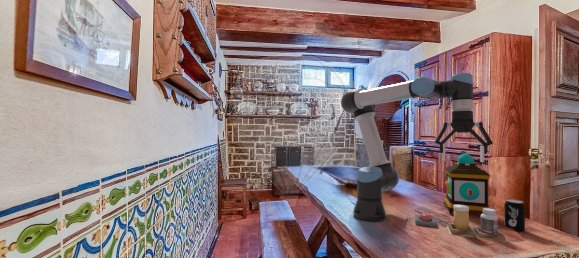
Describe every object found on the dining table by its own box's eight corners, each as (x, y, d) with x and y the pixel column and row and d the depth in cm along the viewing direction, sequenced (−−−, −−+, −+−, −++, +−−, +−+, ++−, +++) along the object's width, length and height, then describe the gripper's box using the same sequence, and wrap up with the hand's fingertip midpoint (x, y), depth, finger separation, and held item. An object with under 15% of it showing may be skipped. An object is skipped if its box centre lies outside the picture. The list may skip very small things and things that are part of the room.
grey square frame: (415, 227, 114) (415, 220, 114) (415, 221, 121) (415, 215, 121) (436, 230, 110) (436, 223, 111) (435, 224, 118) (435, 217, 118)
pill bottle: (497, 238, 98) (497, 212, 99) (479, 235, 102) (479, 209, 102) (498, 234, 103) (498, 209, 103) (481, 231, 106) (481, 206, 106)
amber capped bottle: (454, 232, 105) (454, 207, 105) (452, 228, 110) (452, 203, 110) (470, 234, 103) (470, 208, 103) (467, 230, 107) (467, 205, 108)
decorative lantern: (446, 215, 130) (446, 154, 131) (440, 205, 149) (440, 151, 149) (496, 220, 123) (496, 155, 123) (483, 209, 141) (483, 152, 142)
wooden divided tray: (449, 237, 103) (449, 230, 103) (446, 228, 112) (446, 222, 113) (507, 245, 96) (507, 237, 96) (499, 235, 105) (499, 228, 105)
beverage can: (528, 232, 108) (528, 203, 108) (510, 231, 109) (510, 202, 109) (518, 227, 114) (518, 199, 115) (501, 226, 116) (500, 198, 116)
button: (420, 224, 115) (420, 215, 115) (420, 221, 118) (420, 212, 118) (430, 226, 113) (430, 216, 113) (430, 223, 117) (430, 214, 117)
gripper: (429, 110, 113) (429, 160, 113) (501, 108, 103) (502, 163, 103) (428, 112, 120) (428, 159, 120) (496, 110, 110) (496, 161, 110)
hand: (462, 161), depth 111 cm, fingers open, 13 cm apart
